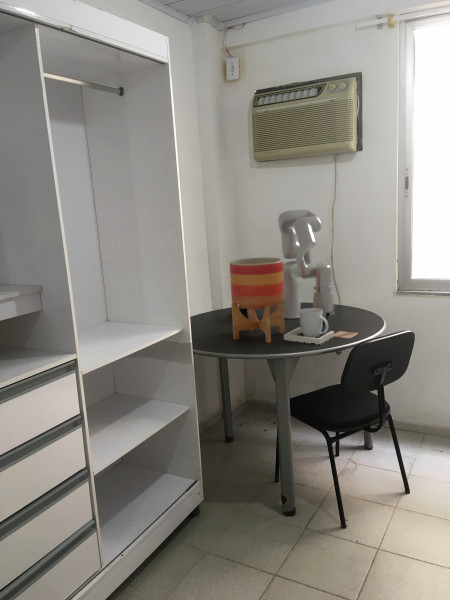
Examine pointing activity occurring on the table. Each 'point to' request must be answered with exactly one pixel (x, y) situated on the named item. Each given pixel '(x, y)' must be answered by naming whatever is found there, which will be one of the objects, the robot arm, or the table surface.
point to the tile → (345, 334)
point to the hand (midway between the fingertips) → (324, 324)
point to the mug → (312, 322)
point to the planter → (257, 294)
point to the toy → (244, 312)
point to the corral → (293, 337)
